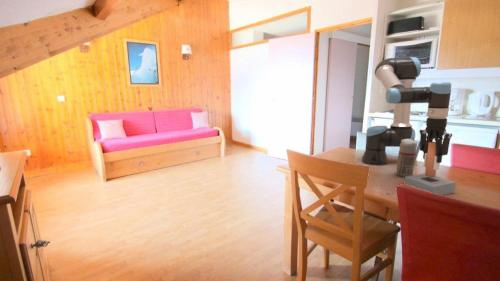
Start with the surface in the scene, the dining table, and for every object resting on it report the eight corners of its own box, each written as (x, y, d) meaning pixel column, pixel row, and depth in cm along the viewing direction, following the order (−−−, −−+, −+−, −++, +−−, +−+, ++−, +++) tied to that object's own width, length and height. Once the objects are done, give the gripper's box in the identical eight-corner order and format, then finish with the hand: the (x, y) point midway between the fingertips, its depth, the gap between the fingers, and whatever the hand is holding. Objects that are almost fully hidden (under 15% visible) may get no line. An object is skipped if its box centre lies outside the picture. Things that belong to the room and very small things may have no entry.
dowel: (422, 175, 121) (426, 141, 118) (429, 173, 122) (432, 141, 119) (431, 177, 117) (435, 143, 114) (437, 176, 119) (441, 142, 116)
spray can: (413, 174, 143) (417, 138, 139) (413, 178, 136) (417, 141, 132) (396, 171, 147) (399, 137, 143) (395, 176, 140) (398, 140, 136)
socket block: (404, 186, 126) (405, 176, 125) (425, 182, 130) (426, 173, 129) (431, 197, 113) (433, 186, 112) (454, 192, 117) (455, 182, 116)
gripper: (413, 116, 121) (408, 163, 126) (450, 120, 106) (443, 174, 110) (425, 115, 124) (420, 162, 128) (463, 118, 108) (456, 172, 112)
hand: (431, 167), depth 119 cm, fingers closed on dowel, 4 cm apart
